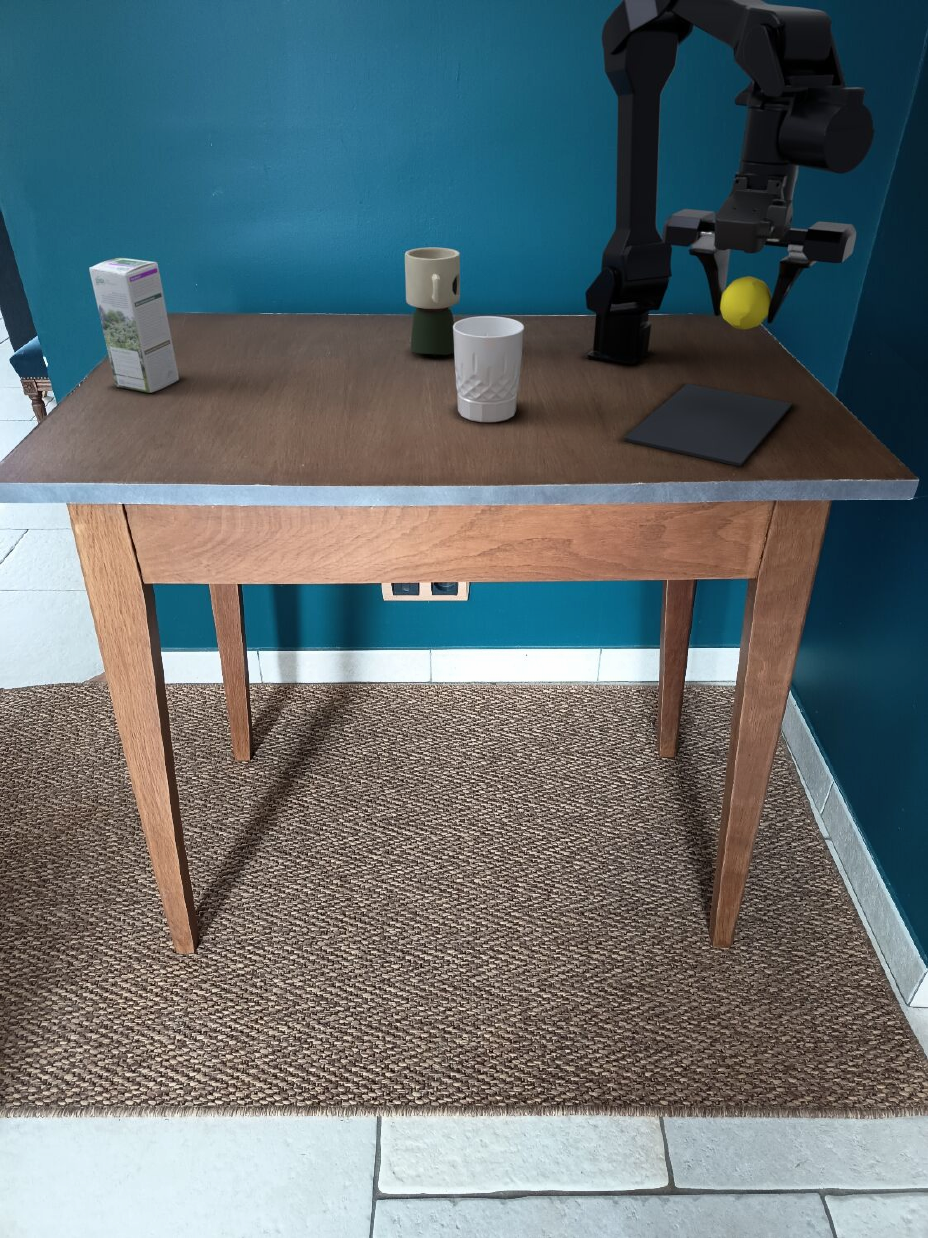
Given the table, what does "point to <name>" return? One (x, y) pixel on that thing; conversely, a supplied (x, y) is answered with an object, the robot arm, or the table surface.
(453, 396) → the table surface
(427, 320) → the character mug
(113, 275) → the syrup box
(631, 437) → the desk mat
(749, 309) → the lemon
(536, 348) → the table surface
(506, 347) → the white cup
